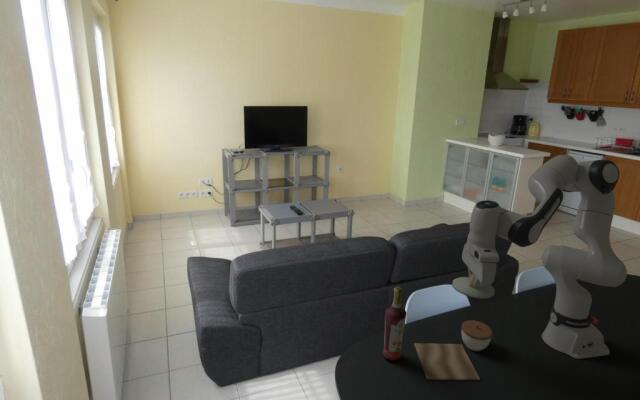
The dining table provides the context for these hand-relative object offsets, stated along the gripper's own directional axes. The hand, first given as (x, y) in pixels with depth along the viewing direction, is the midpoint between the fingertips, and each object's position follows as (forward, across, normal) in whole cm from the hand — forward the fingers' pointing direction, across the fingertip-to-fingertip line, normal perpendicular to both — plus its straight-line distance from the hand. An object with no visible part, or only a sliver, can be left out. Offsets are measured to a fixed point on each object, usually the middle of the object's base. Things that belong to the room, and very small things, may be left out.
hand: (473, 283), depth 135 cm
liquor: (+29, +4, -27) cm, 40 cm away
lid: (+2, 0, 0) cm, 2 cm away
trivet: (+28, +6, -8) cm, 30 cm away
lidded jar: (+28, -3, +6) cm, 29 cm away
